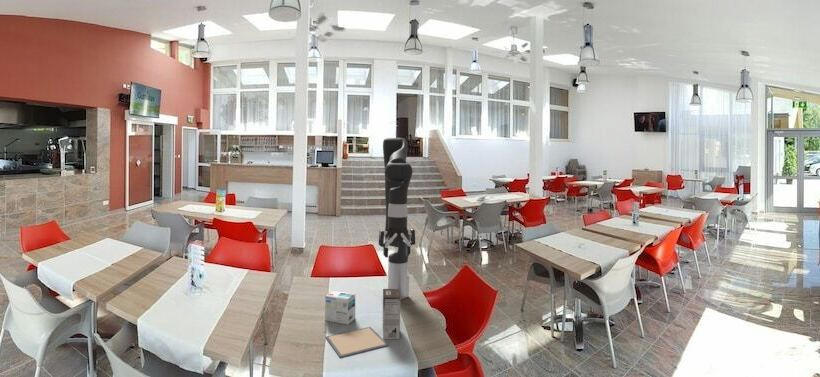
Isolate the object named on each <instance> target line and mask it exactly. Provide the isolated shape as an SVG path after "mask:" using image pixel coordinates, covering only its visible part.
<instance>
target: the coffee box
mask: <svg viewBox="0 0 820 377" xmlns="http://www.w3.org/2000/svg"><path fill="white" fill-rule="evenodd" d="M401 300H402V299H401V297H400V292H399V289H388V288H383V289H382V339H383V340H400V337H401V336H400V333H401V332H400V331H401Z"/></svg>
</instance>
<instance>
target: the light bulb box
mask: <svg viewBox="0 0 820 377" xmlns="http://www.w3.org/2000/svg"><path fill="white" fill-rule="evenodd" d="M324 299H325V303H324V304H325V305H324V306H325V307H324V308H325V315H324V316H325V321H326V322H332V323H336V324H342V325H347V326H348V325H349V324H350V323H352V322H353V321H354V320H356V293H352V292H342V291H337V290H332V291H330V292H329V293H328V294H326V295H325V296H324Z"/></svg>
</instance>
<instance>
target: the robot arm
mask: <svg viewBox="0 0 820 377" xmlns="http://www.w3.org/2000/svg"><path fill="white" fill-rule="evenodd" d="M408 151H409V150H408V142H407V140H406V139H405V138H404V137H386V138H383V141H382V153H383V154H382V155H383V165H384V192H385V193H384V194H385V195H384V198H385V230H383V229H381V230H379V234H378V246H380V247H381V248H383V252H382V254H383V256H384V257H385V258H386V259H387V258H388V263H387V264H388V265H387V266H388V267H387V289H399V292H400V297H401V300H404V299H406V298H408V296H409V297H410V277H409V276H408V275H409V273H408V269H409V268H408V267H409V266H408V265H409V262H408V261H409V260H408V259H409V256H410V255H411V248H412V247H411V246H413V245H416V230H415V229H413V228H409V229H408V214H409V212H408V211H409V210H408V192H409V191H408V190H409V186H410V183H411V180H412V177H413V172H414V170H413V167H412V165H411V164H410V163H407V157H408ZM384 239H385V241H384ZM389 247H394V248H397V252H394V253H390V254H389Z"/></svg>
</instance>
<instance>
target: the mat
mask: <svg viewBox="0 0 820 377" xmlns="http://www.w3.org/2000/svg"><path fill="white" fill-rule="evenodd" d="M325 338H326V341H327V342H328V343H329V345H330V346H331V347H332V349H333V351H334V352H335V353H336V354H337V356H338V358H340V359H342V358H346V357H350V356H353V355H358V354H361V353H365V352H370V351H373V350H378V349H380V348H386V347H388V346H389V343H387V342H386V341H385V339H383V337H381V336H380V334H378V332H376V331H375V329H373V328H372V326H368V327H364V328H363V327H362V328H359V329H355V330H350V331H346V332H341V333H337V334H331V335H327V336H325Z"/></svg>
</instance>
